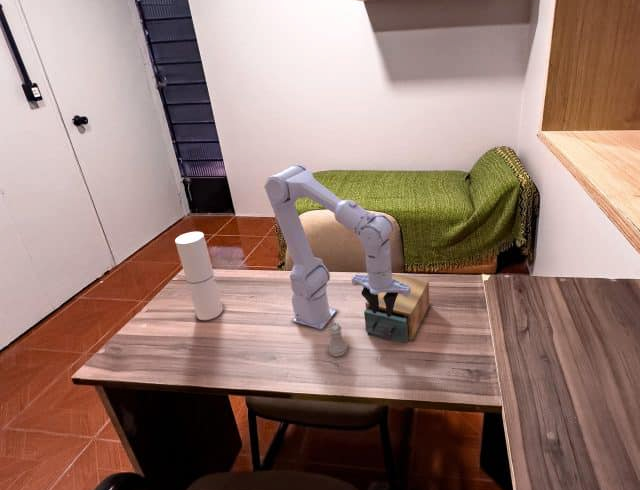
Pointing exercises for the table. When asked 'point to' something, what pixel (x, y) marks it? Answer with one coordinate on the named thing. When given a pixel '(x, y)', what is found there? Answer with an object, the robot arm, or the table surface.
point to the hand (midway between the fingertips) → (382, 312)
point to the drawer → (386, 325)
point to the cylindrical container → (199, 274)
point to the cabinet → (409, 302)
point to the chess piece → (336, 340)
